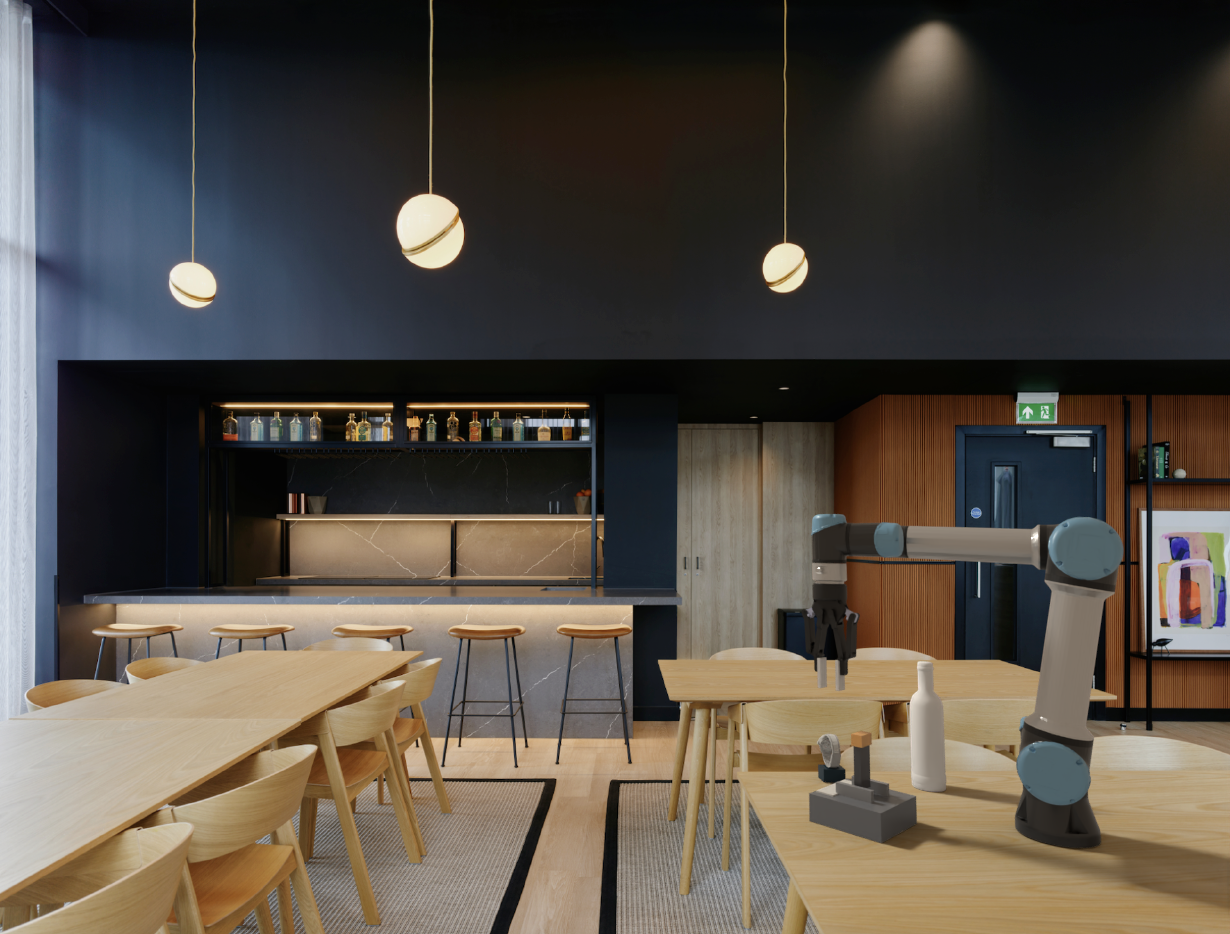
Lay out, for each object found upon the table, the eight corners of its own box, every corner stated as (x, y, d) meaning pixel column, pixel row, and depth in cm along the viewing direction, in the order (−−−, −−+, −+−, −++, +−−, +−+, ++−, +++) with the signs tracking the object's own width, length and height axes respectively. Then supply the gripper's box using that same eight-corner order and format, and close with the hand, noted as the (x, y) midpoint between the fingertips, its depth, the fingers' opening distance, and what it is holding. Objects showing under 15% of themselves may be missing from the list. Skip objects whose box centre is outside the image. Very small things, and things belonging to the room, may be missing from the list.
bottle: (912, 790, 178) (909, 663, 182) (909, 780, 186) (906, 659, 189) (948, 793, 176) (944, 665, 179) (944, 784, 183) (940, 660, 187)
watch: (836, 774, 189) (836, 730, 191) (848, 784, 181) (847, 738, 183) (815, 774, 189) (814, 730, 190) (825, 784, 181) (825, 738, 182)
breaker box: (916, 823, 156) (915, 784, 157) (881, 843, 145) (880, 800, 146) (847, 804, 167) (846, 767, 168) (809, 820, 156) (809, 781, 157)
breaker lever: (872, 787, 157) (871, 732, 159) (862, 791, 154) (861, 736, 156) (862, 784, 159) (861, 730, 160) (852, 788, 156) (851, 733, 157)
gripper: (788, 581, 170) (789, 685, 167) (855, 584, 158) (858, 696, 155) (805, 580, 175) (807, 681, 173) (872, 583, 163) (874, 692, 161)
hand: (831, 688), depth 164 cm, fingers open, 4 cm apart
